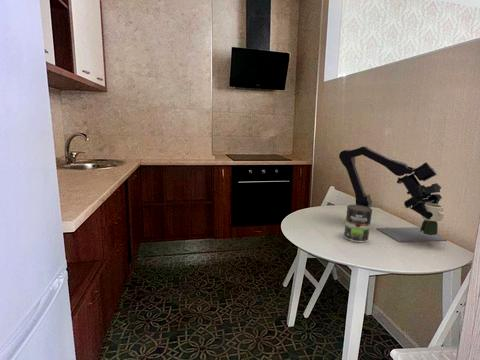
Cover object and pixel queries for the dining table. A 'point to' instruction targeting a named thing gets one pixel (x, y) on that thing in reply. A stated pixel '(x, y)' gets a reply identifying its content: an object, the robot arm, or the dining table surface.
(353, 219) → the coffee can
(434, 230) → the character mug
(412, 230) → the placemat
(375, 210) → the dining table surface
